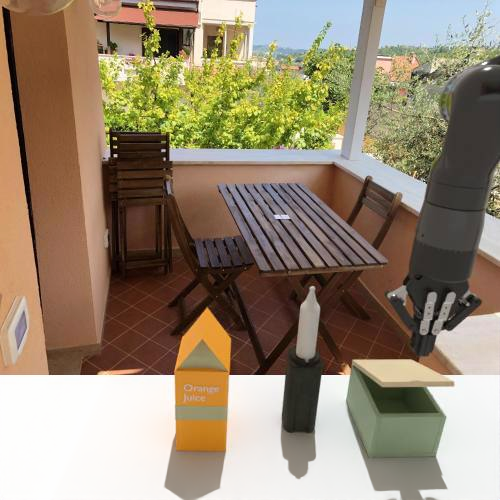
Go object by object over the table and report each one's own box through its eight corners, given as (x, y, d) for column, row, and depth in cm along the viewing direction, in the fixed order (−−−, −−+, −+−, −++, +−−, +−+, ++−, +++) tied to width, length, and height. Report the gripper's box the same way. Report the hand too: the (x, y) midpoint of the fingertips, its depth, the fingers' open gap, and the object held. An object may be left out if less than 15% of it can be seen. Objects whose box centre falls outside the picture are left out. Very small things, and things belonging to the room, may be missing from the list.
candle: (284, 432, 69) (297, 294, 59) (281, 410, 73) (293, 278, 64) (315, 433, 69) (333, 294, 60) (310, 410, 74) (326, 279, 64)
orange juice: (175, 450, 64) (172, 337, 57) (182, 409, 73) (181, 305, 65) (227, 451, 65) (231, 339, 57) (229, 410, 73) (232, 306, 65)
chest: (436, 456, 66) (446, 416, 63) (368, 458, 65) (376, 417, 62) (403, 399, 77) (411, 363, 74) (345, 400, 76) (351, 364, 74)
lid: (454, 386, 61) (454, 381, 61) (382, 387, 60) (382, 381, 60) (411, 363, 74) (411, 359, 74) (351, 364, 73) (352, 359, 73)
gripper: (407, 247, 50) (384, 370, 56) (515, 249, 51) (479, 370, 57) (384, 227, 57) (365, 338, 63) (479, 229, 58) (451, 338, 64)
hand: (420, 353), depth 60 cm, fingers closed
